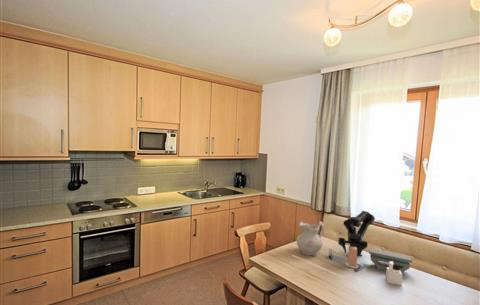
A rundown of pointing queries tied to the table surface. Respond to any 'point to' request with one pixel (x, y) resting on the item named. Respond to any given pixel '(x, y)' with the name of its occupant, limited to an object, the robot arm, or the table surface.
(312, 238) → the ceramic pitcher
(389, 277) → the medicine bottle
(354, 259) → the post
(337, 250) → the table surface
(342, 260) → the drilled plate
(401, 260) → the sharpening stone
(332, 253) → the steel pin
